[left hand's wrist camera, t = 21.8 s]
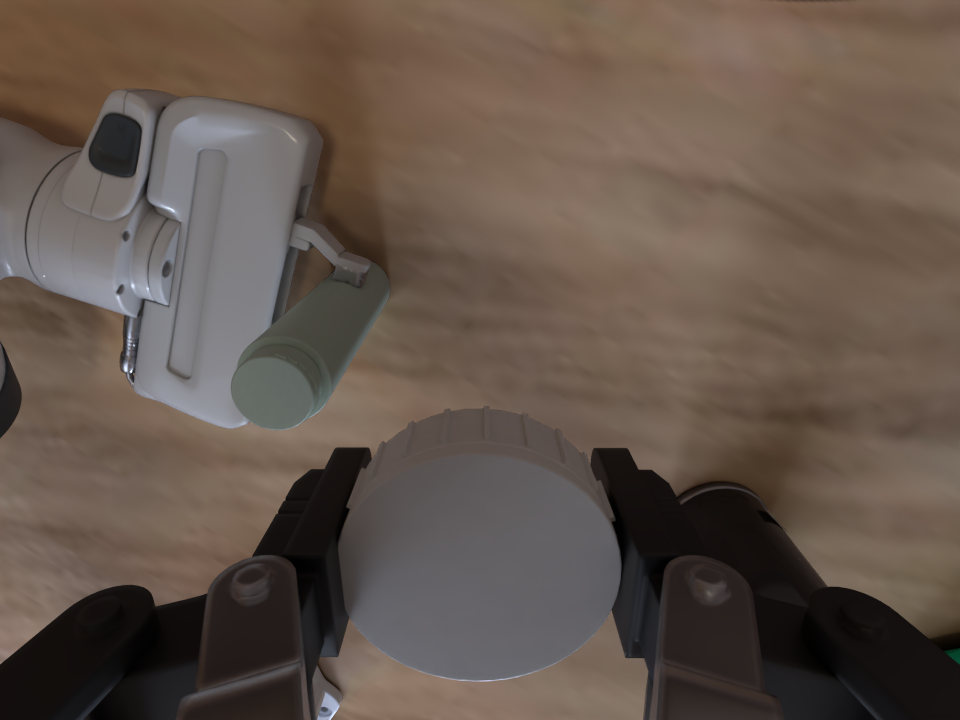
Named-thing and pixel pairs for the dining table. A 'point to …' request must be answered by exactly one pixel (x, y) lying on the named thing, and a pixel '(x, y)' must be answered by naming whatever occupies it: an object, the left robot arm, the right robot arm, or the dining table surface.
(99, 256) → the right robot arm
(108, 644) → the left robot arm
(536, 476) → the lid
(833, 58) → the dining table surface
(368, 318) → the bottle
